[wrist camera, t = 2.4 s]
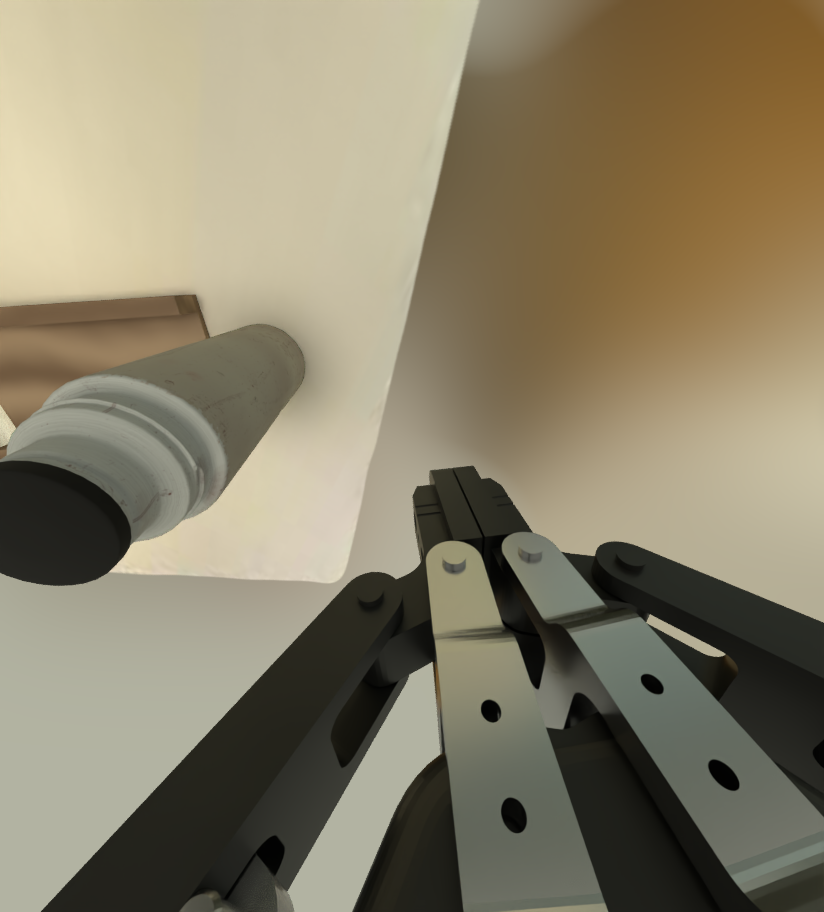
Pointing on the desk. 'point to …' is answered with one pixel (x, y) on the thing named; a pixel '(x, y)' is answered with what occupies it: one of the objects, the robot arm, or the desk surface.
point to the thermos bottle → (137, 451)
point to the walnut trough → (84, 343)
